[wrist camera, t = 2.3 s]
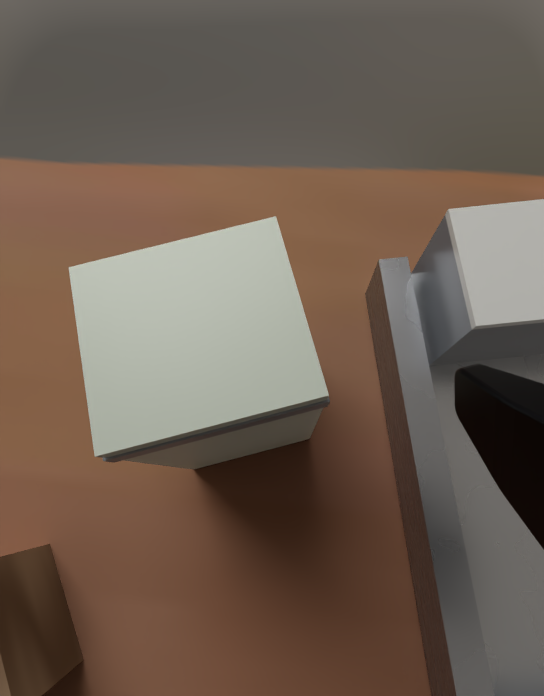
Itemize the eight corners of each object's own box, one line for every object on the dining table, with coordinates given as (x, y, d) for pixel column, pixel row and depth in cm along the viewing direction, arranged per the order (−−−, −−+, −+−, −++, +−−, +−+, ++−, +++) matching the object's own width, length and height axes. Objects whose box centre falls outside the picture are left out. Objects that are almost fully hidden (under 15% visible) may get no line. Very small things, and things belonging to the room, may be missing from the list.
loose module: (311, 439, 17) (332, 396, 9) (192, 471, 17) (92, 460, 8) (283, 340, 18) (277, 213, 10) (172, 368, 18) (65, 266, 10)
